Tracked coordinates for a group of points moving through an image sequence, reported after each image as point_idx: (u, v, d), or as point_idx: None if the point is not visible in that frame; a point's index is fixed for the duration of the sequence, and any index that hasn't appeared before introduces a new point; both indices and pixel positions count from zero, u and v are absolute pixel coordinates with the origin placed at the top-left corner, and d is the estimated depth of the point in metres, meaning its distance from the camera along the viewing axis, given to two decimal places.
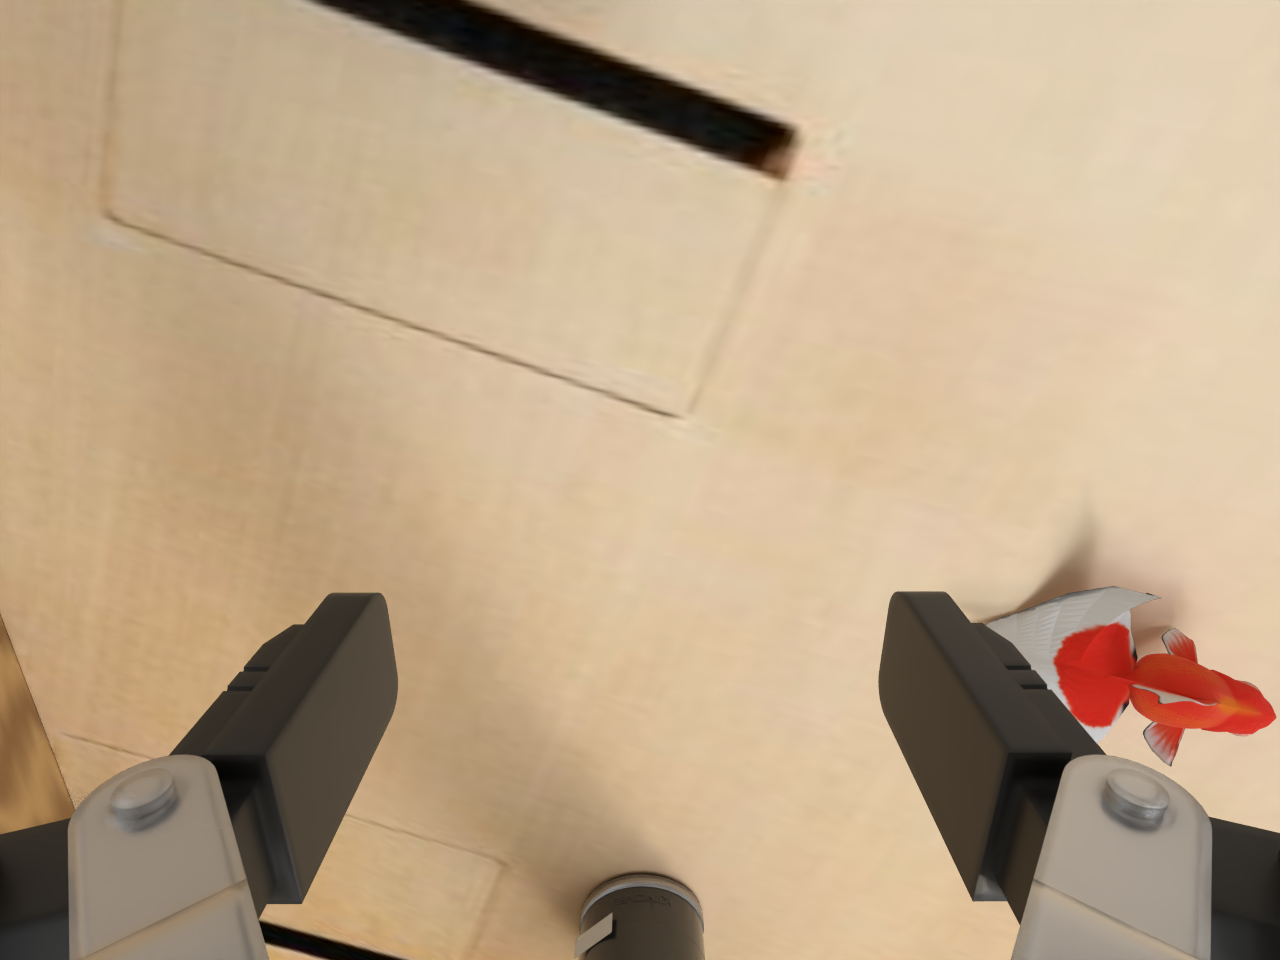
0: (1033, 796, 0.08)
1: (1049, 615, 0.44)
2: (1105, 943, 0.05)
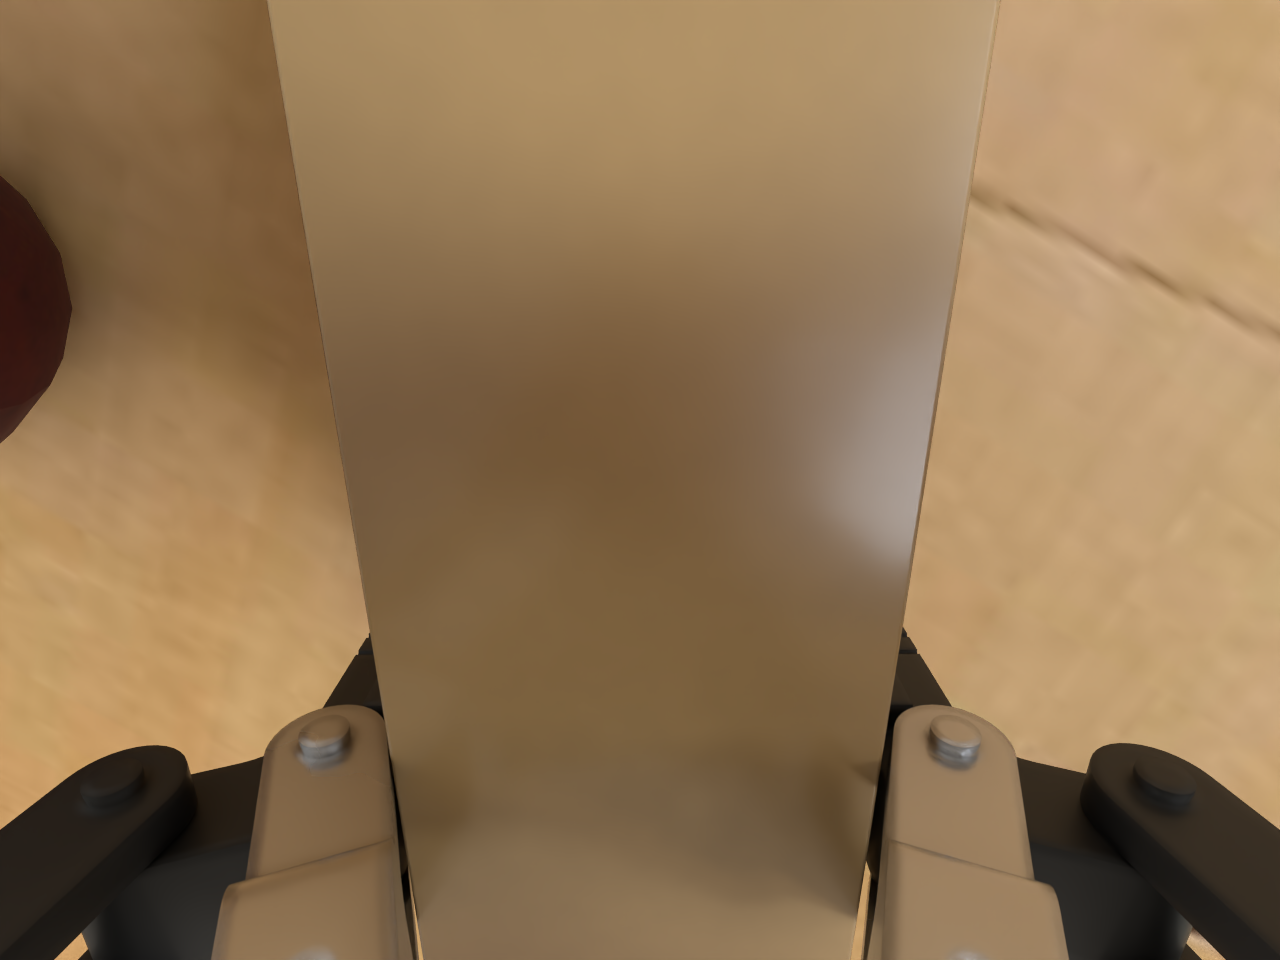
0: None
1: None
2: (956, 886, 0.05)
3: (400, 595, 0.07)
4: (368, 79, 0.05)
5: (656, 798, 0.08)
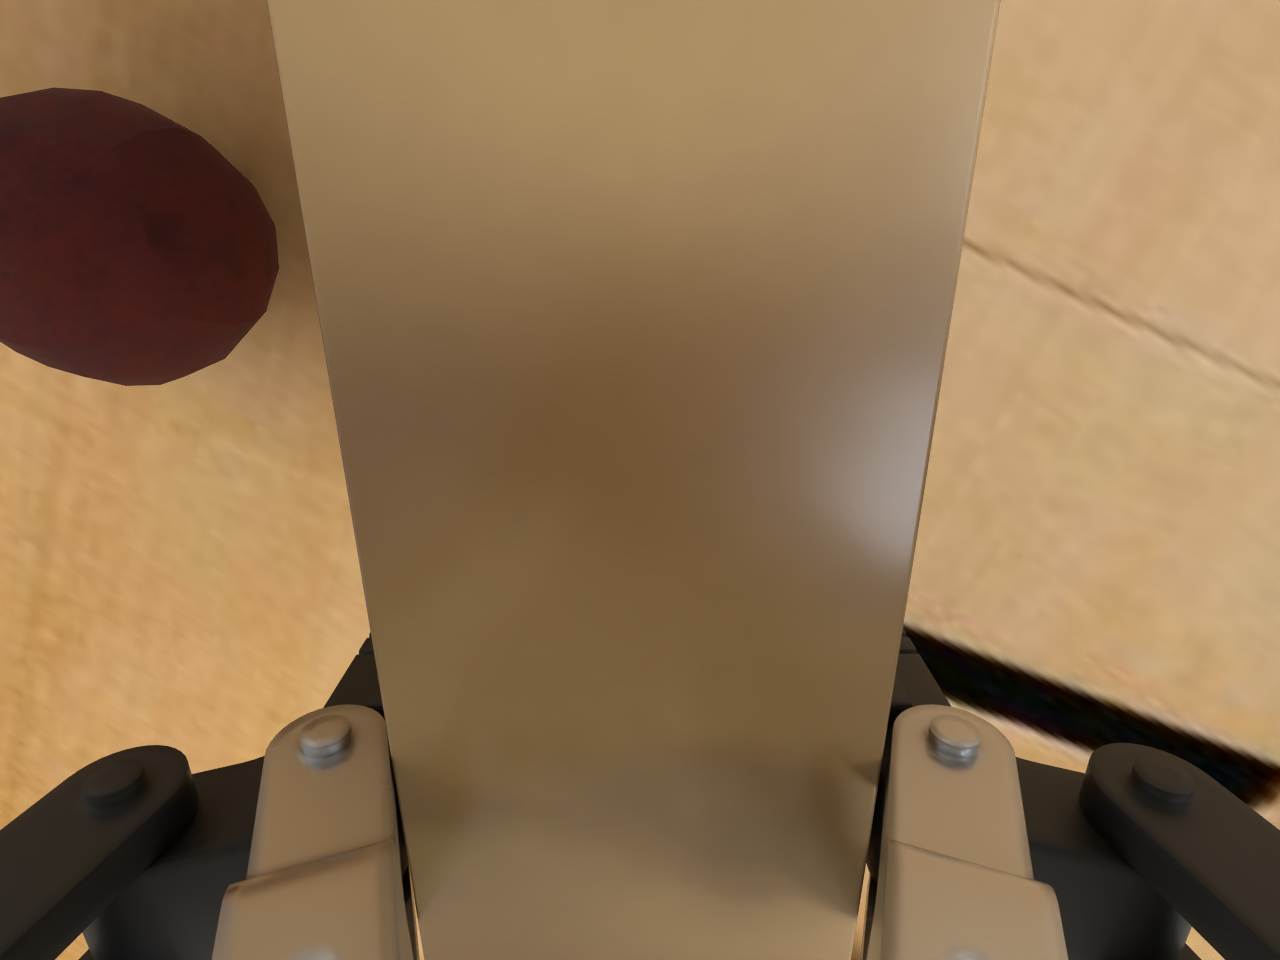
0: None
1: None
2: (956, 886, 0.05)
3: (400, 594, 0.07)
4: (368, 78, 0.05)
5: (656, 798, 0.08)
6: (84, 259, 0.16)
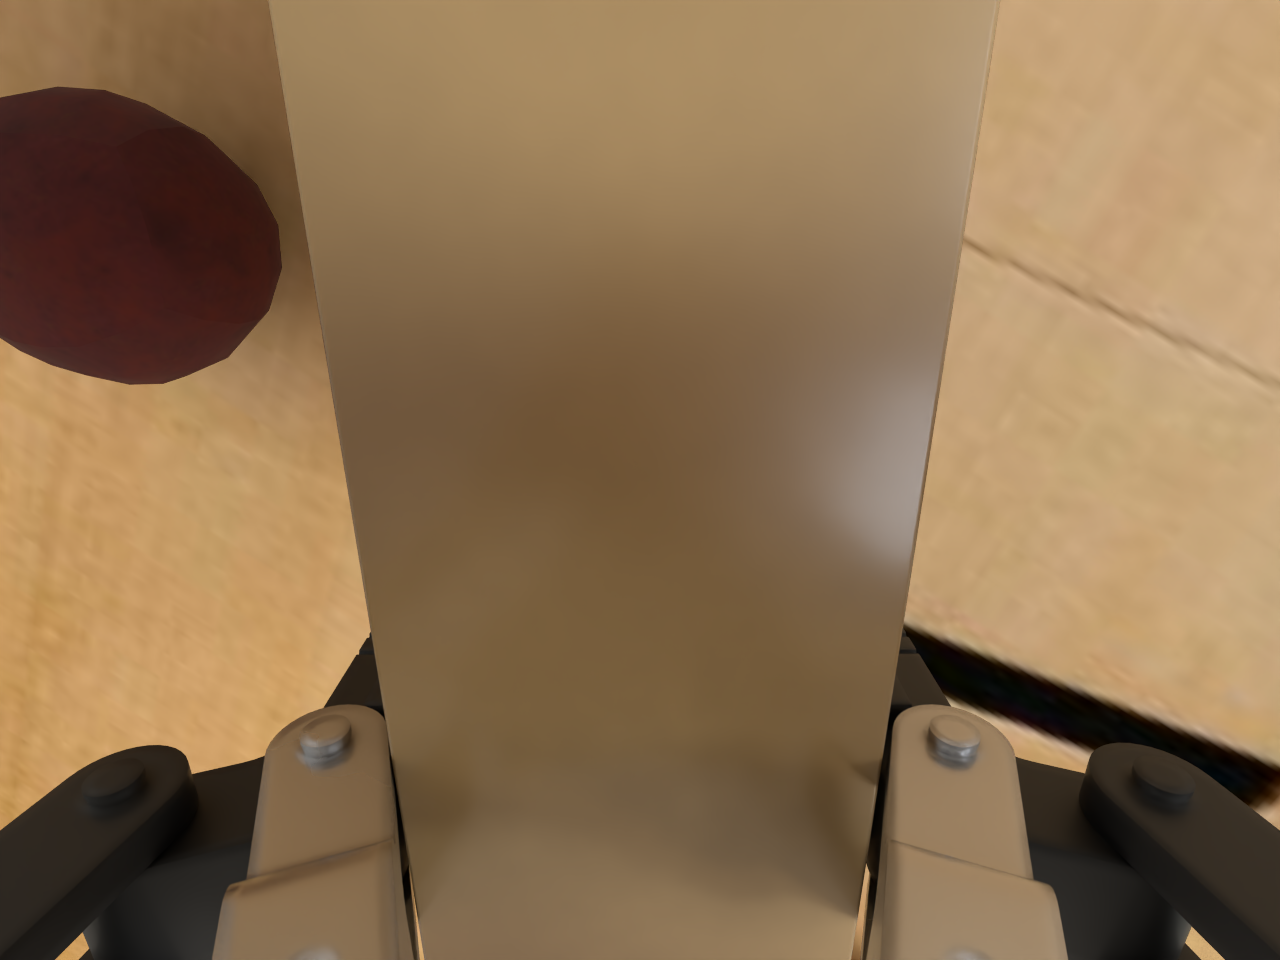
0: None
1: None
2: (956, 886, 0.05)
3: (401, 594, 0.07)
4: (369, 77, 0.05)
5: (656, 797, 0.08)
6: (87, 258, 0.16)
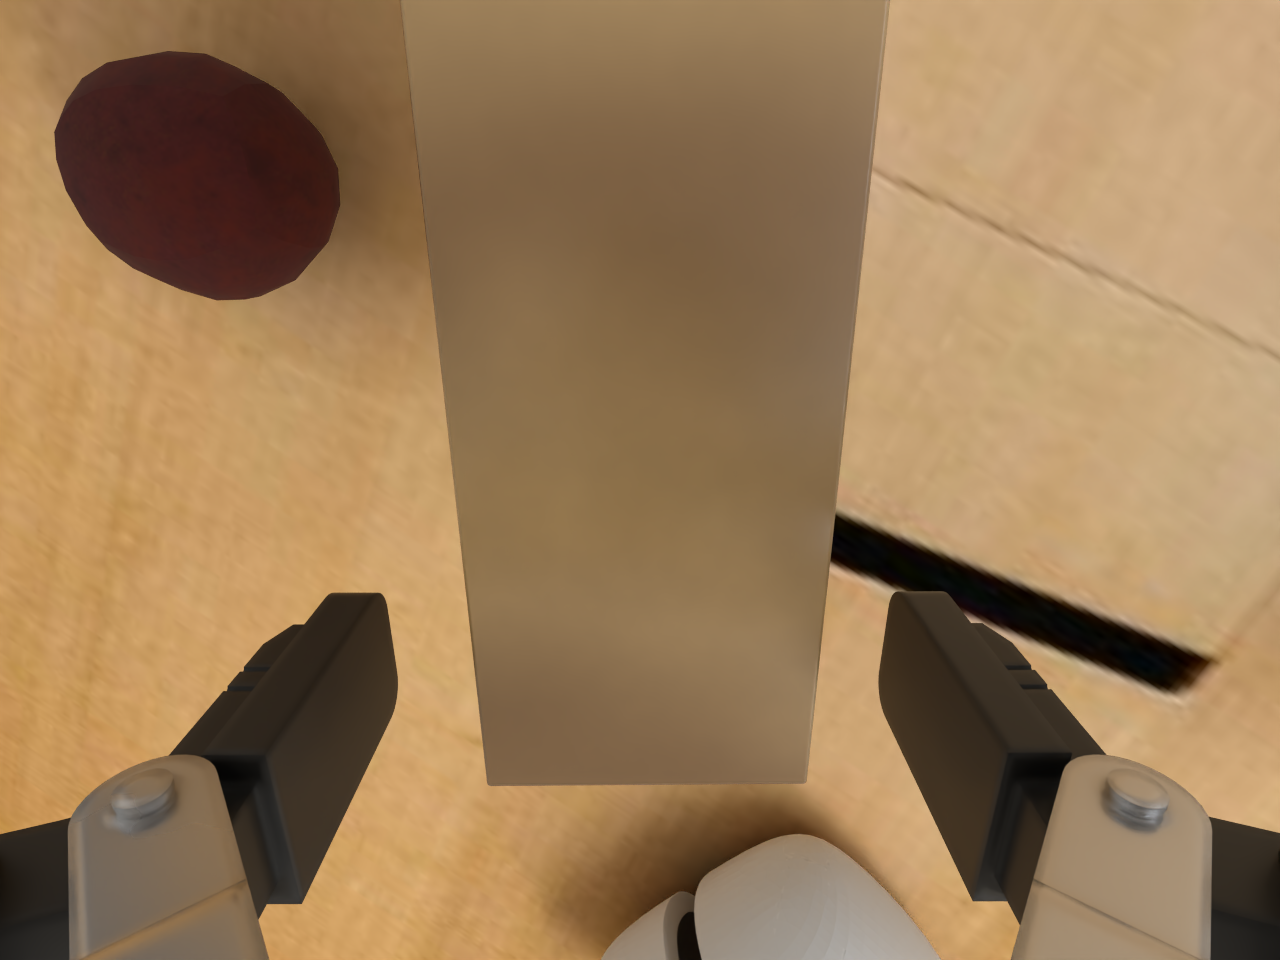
0: (1033, 796, 0.08)
1: None
2: (1105, 943, 0.05)
3: (467, 349, 0.09)
4: None
5: (662, 530, 0.10)
6: (201, 184, 0.20)
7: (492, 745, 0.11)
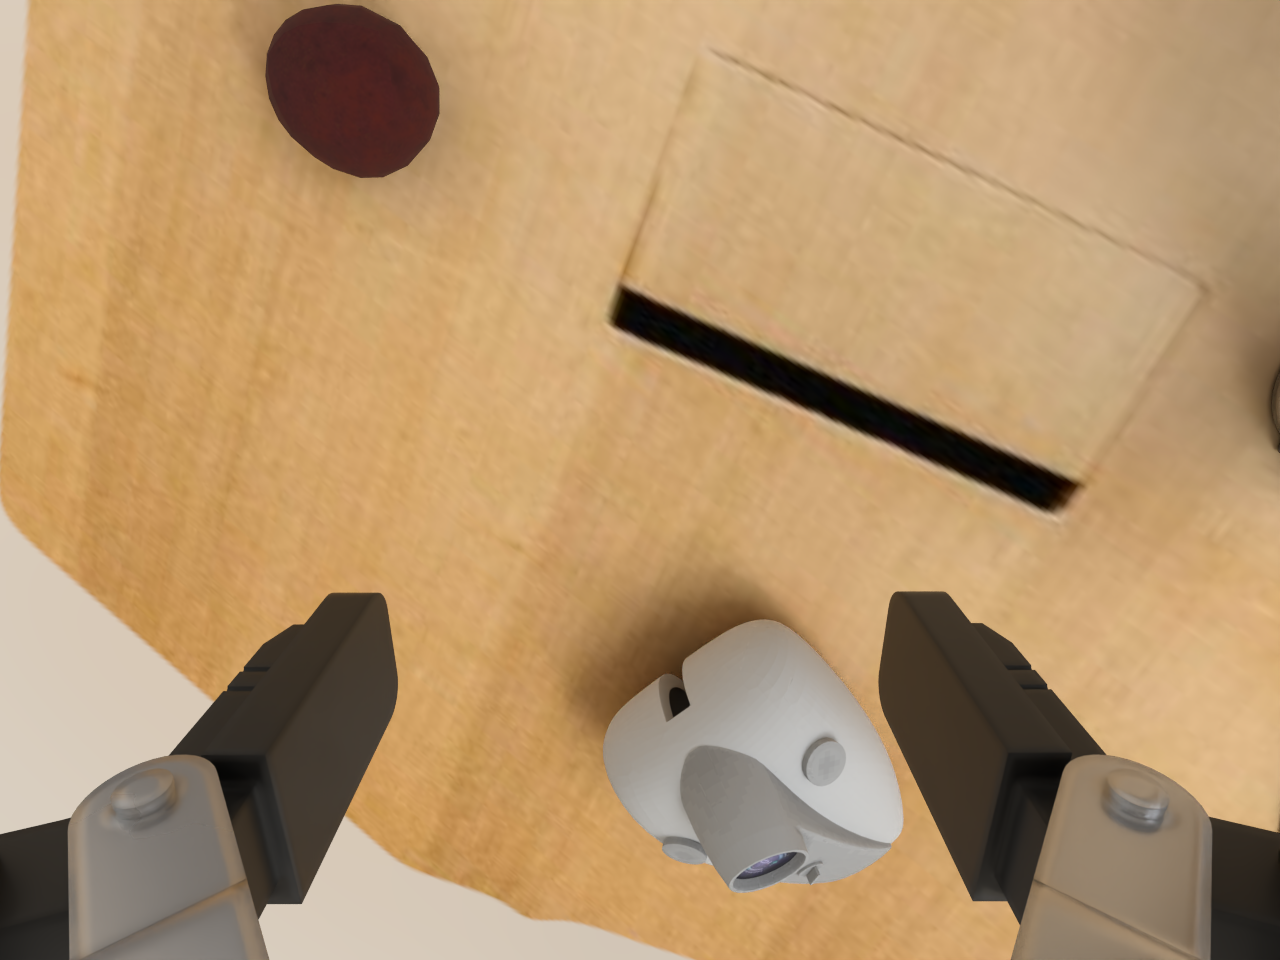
0: (1033, 796, 0.08)
1: None
2: (1104, 943, 0.05)
3: None
4: None
5: None
6: (363, 87, 0.32)
7: None
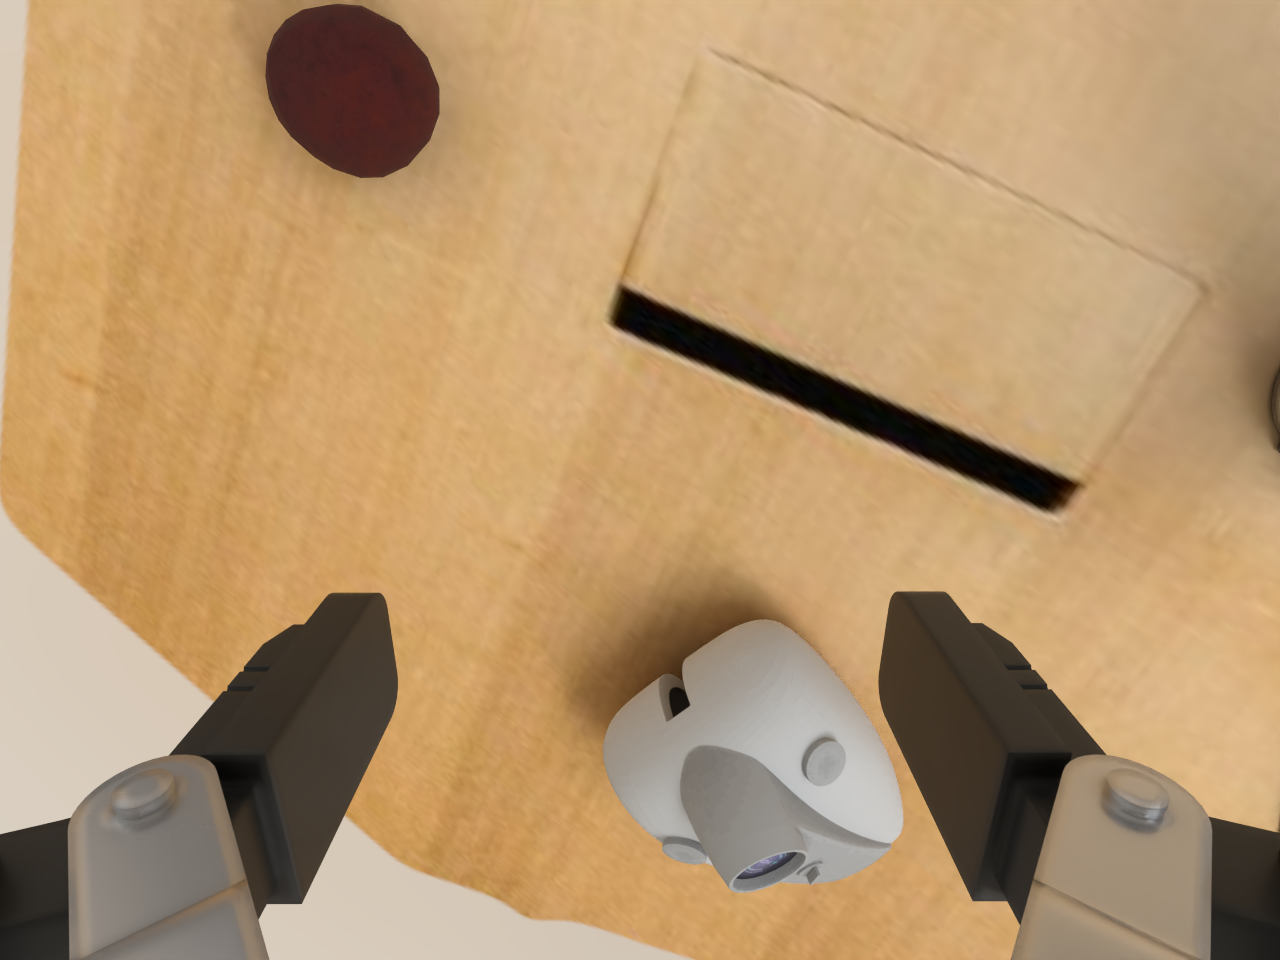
0: (1033, 796, 0.08)
1: None
2: (1104, 943, 0.05)
3: None
4: None
5: None
6: (363, 87, 0.32)
7: None
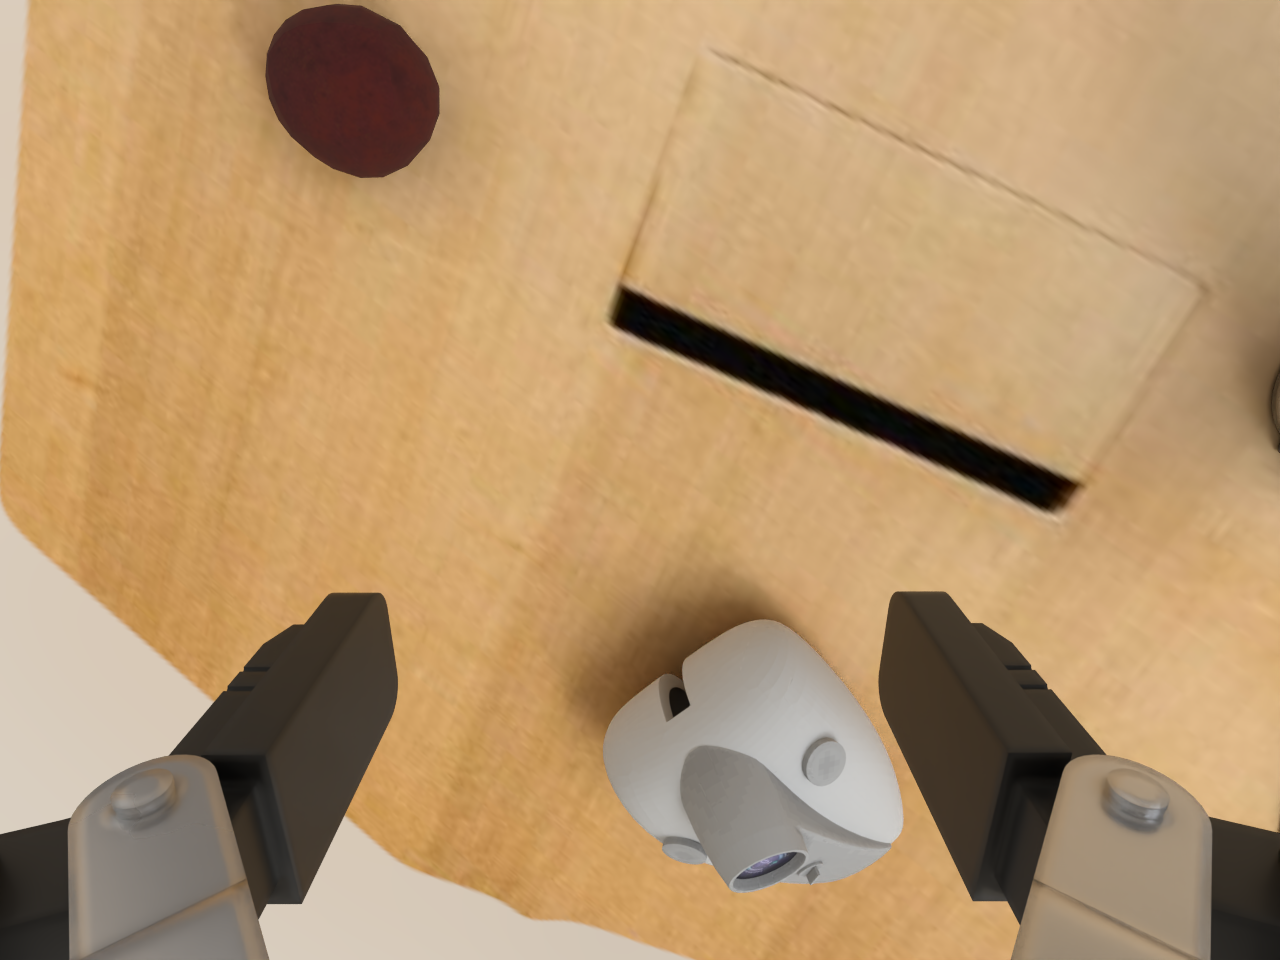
0: (1033, 796, 0.08)
1: None
2: (1104, 943, 0.05)
3: None
4: None
5: None
6: (363, 87, 0.32)
7: None
